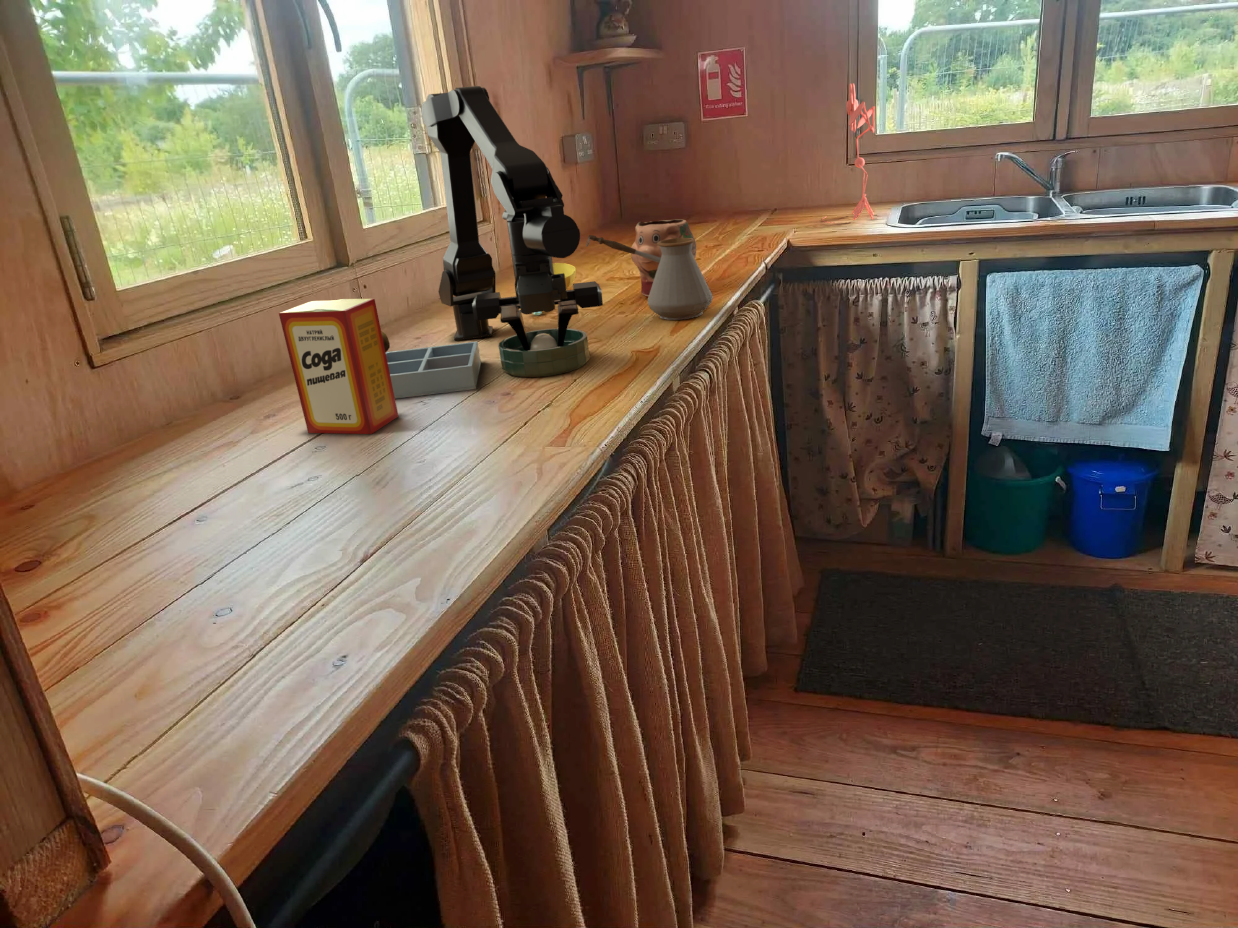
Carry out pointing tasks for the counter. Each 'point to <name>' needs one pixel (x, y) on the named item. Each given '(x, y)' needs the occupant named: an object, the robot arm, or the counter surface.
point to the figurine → (854, 112)
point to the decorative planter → (656, 246)
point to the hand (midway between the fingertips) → (545, 357)
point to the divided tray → (434, 369)
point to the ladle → (568, 272)
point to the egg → (543, 342)
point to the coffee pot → (673, 279)
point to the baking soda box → (340, 365)
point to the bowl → (544, 354)
